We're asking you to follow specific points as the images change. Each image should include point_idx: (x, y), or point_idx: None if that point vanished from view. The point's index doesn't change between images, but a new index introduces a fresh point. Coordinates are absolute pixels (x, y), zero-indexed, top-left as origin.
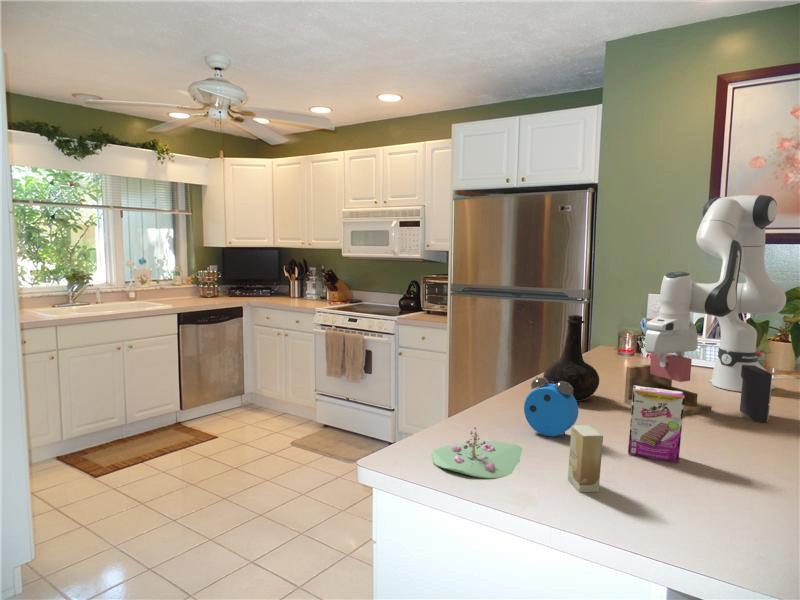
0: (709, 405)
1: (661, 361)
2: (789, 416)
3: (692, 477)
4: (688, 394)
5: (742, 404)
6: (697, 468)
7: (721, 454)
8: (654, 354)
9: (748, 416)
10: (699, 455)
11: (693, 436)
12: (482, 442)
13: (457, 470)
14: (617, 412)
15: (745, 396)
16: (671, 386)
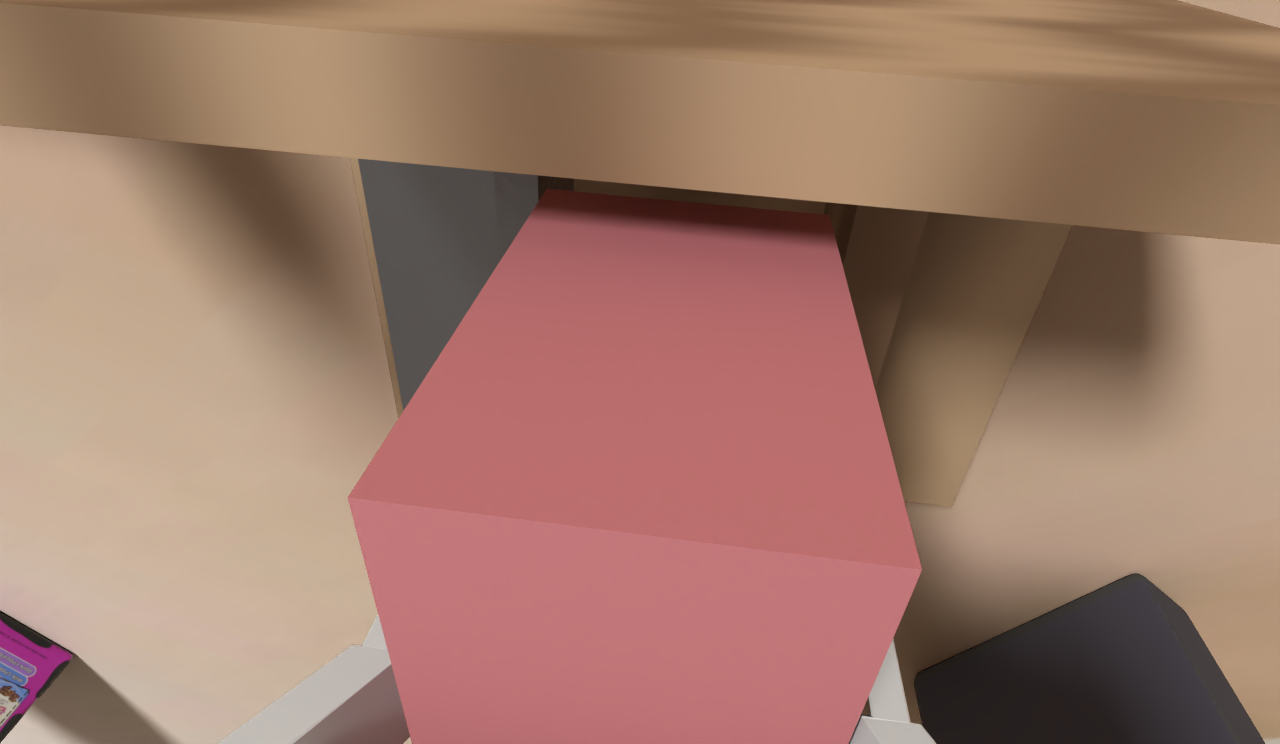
0: (949, 494)
1: (374, 657)
2: (1266, 728)
3: (30, 720)
4: None
5: (1128, 642)
6: (91, 709)
7: None
8: (385, 571)
9: (1001, 636)
10: (179, 682)
11: (320, 607)
12: None
13: None
14: (75, 155)
15: (1126, 735)
16: (903, 273)
